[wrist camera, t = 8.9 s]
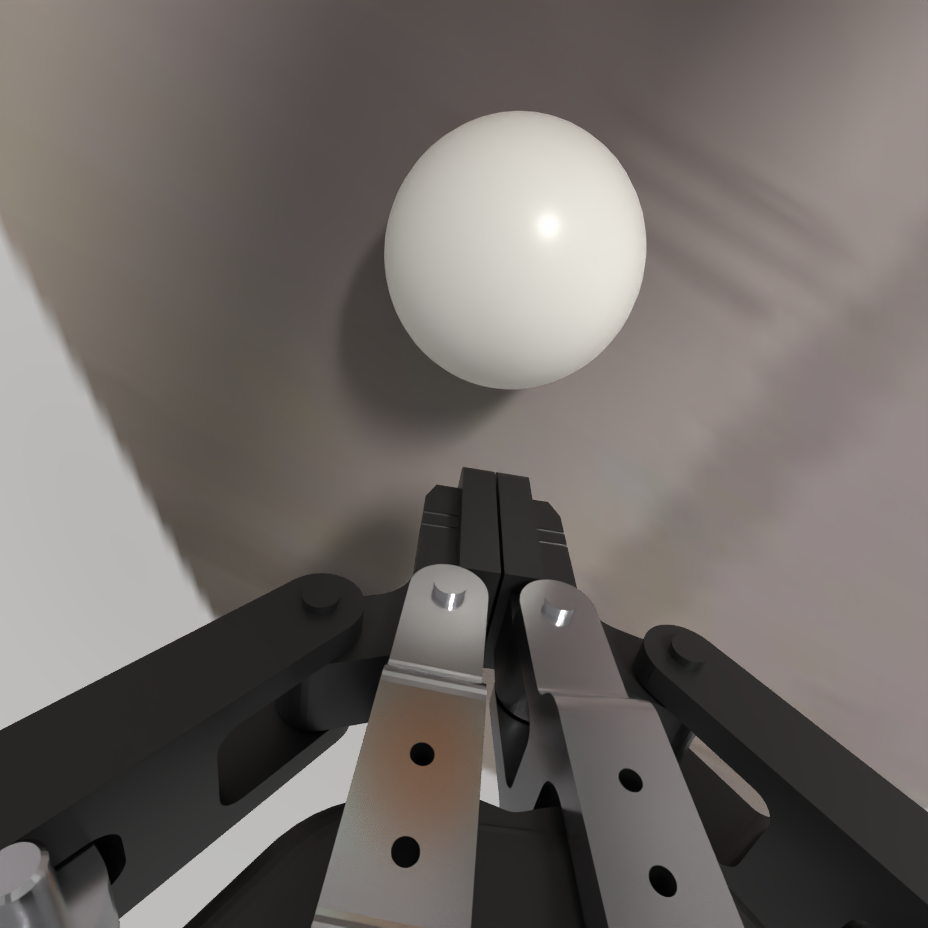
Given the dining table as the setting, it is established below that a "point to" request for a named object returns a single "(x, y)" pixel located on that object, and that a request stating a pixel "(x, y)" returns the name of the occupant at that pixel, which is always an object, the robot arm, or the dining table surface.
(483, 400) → the dining table surface
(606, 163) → the cue ball
